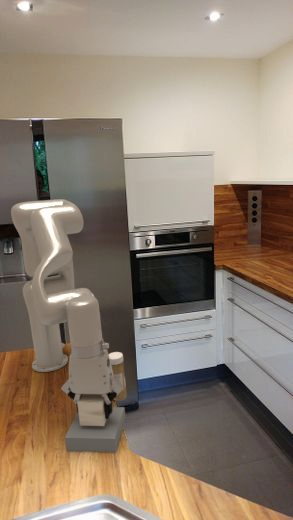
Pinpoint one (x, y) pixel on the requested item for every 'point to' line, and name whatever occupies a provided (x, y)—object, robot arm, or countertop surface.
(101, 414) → the cream cube
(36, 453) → the countertop surface
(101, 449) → the slate block
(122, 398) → the sprinkles bottle
